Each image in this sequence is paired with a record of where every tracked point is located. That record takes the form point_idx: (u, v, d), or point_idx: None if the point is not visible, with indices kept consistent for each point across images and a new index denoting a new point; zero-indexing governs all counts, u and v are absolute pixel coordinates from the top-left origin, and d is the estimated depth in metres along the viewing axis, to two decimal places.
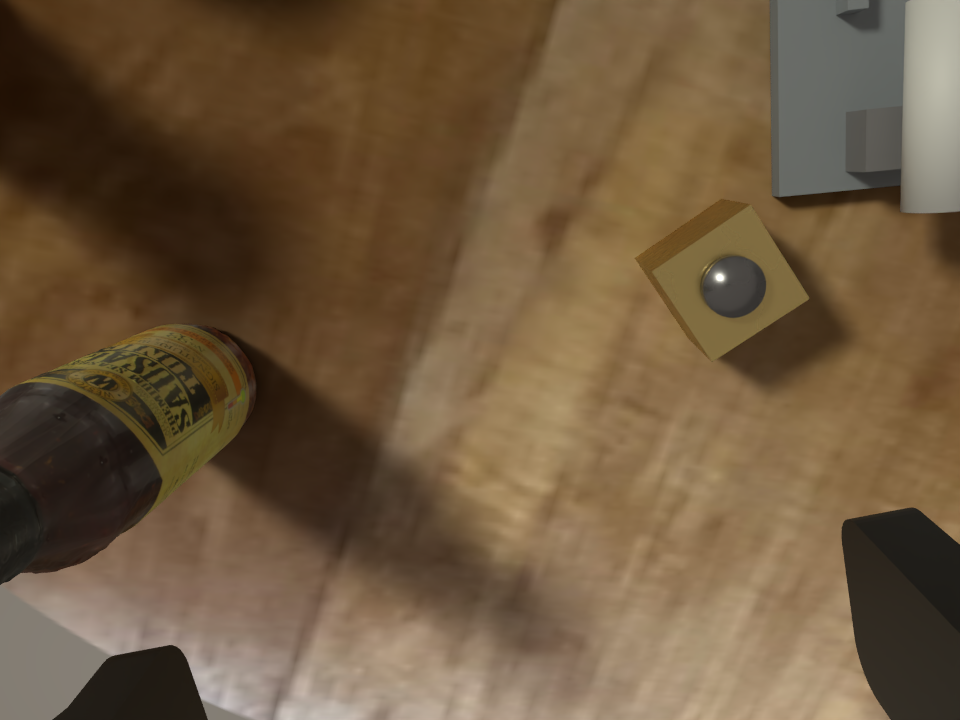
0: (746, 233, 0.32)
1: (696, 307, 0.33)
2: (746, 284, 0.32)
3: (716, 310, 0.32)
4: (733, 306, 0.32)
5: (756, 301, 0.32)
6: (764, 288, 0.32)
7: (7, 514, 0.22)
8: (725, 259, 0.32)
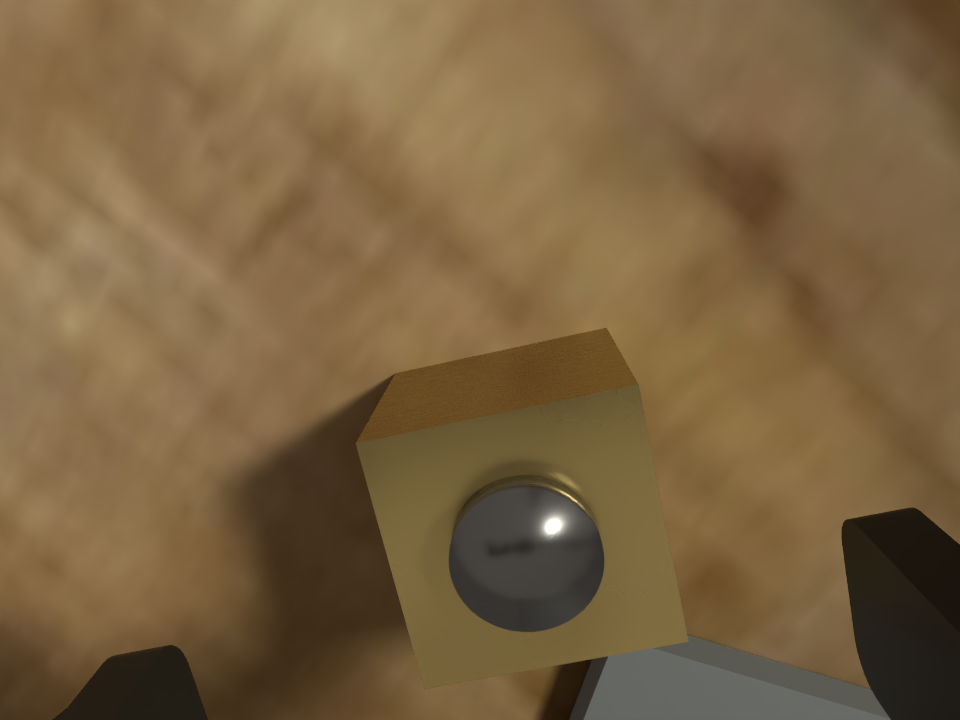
0: (628, 613, 0.13)
1: (504, 454, 0.13)
2: (522, 588, 0.13)
3: (487, 504, 0.12)
4: (481, 544, 0.13)
5: (472, 596, 0.13)
6: (495, 622, 0.13)
7: None
8: (602, 563, 0.13)
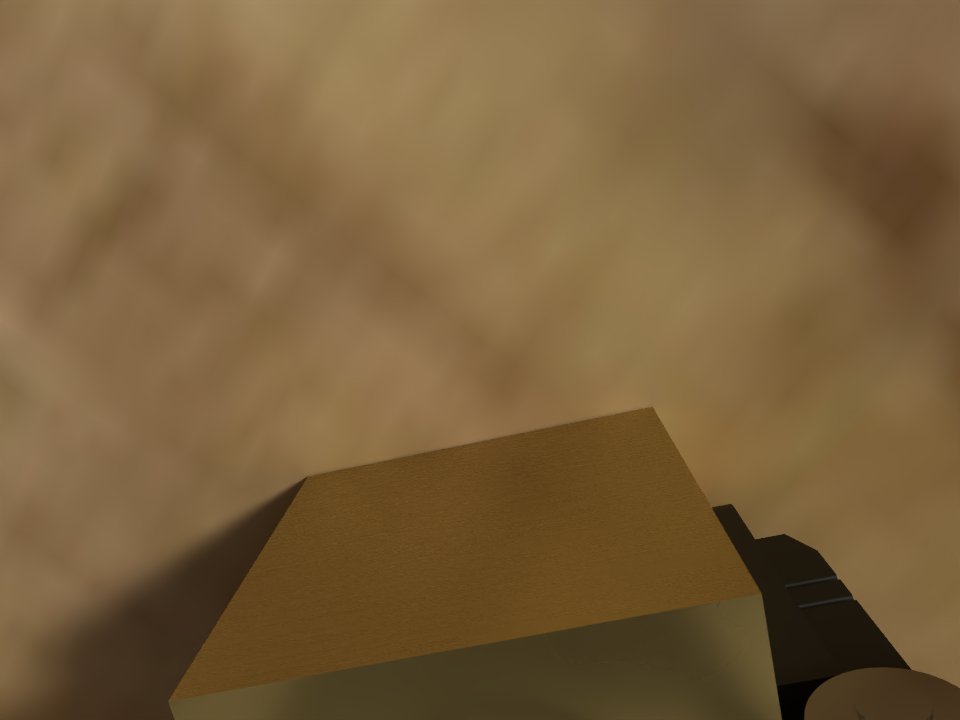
0: None
1: None
2: None
3: None
4: None
5: None
6: None
7: None
8: None
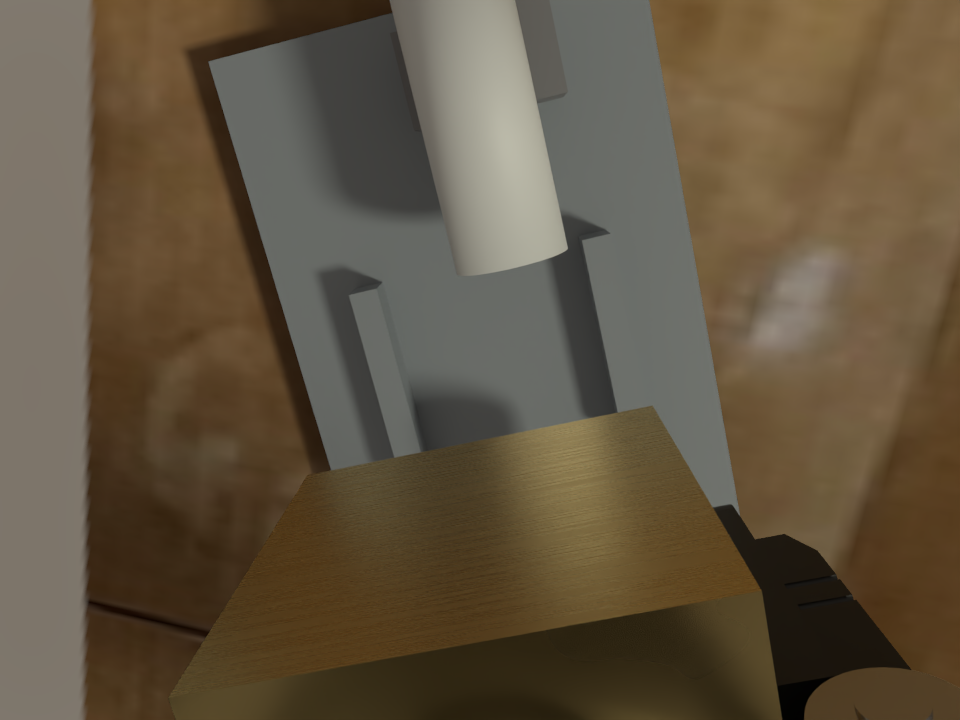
0: None
1: None
2: None
3: None
4: None
5: None
6: None
7: None
8: None
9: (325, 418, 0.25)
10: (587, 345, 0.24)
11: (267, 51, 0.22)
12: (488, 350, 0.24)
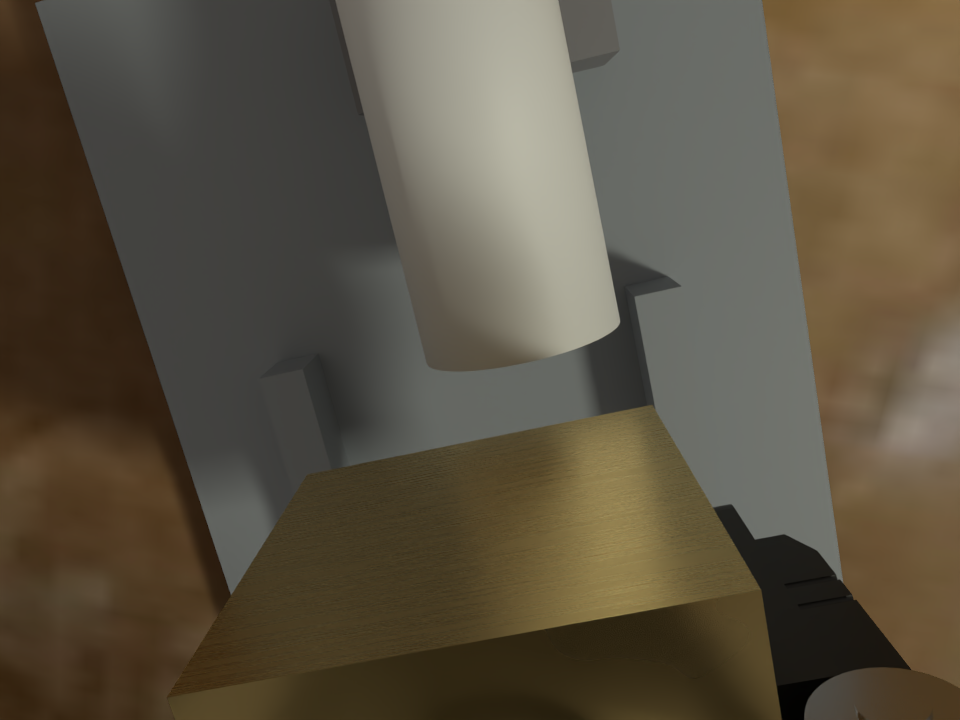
0: None
1: None
2: None
3: None
4: None
5: None
6: None
7: None
8: None
9: (233, 555, 0.16)
10: None
11: None
12: None
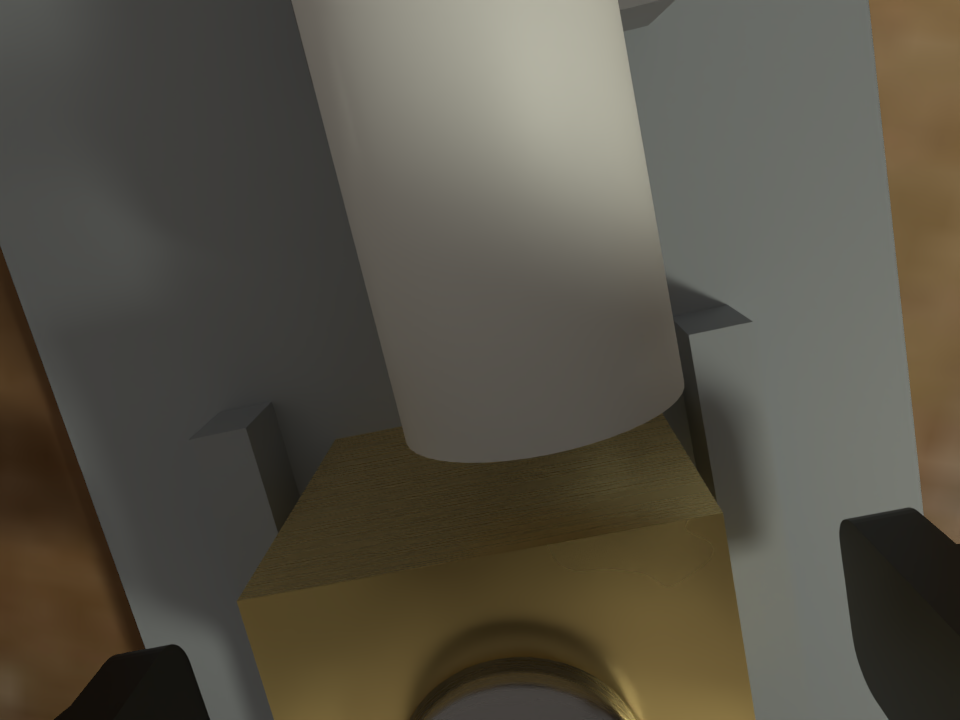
0: None
1: (489, 623, 0.08)
2: None
3: (458, 719, 0.07)
4: None
5: None
6: None
7: None
8: None
9: None
10: None
11: None
12: None
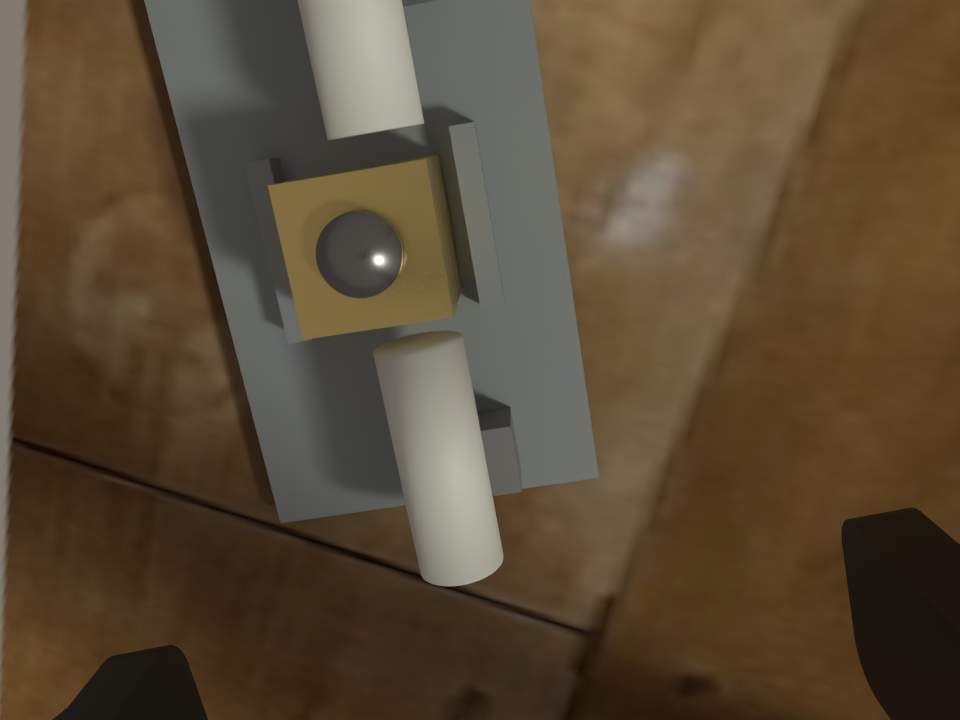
0: (419, 297, 0.24)
1: (351, 196, 0.23)
2: (356, 271, 0.23)
3: (337, 219, 0.22)
4: (333, 243, 0.23)
5: (328, 274, 0.23)
6: (341, 291, 0.23)
7: None
8: (400, 259, 0.23)
9: (225, 278, 0.28)
10: (457, 226, 0.27)
11: None
12: None
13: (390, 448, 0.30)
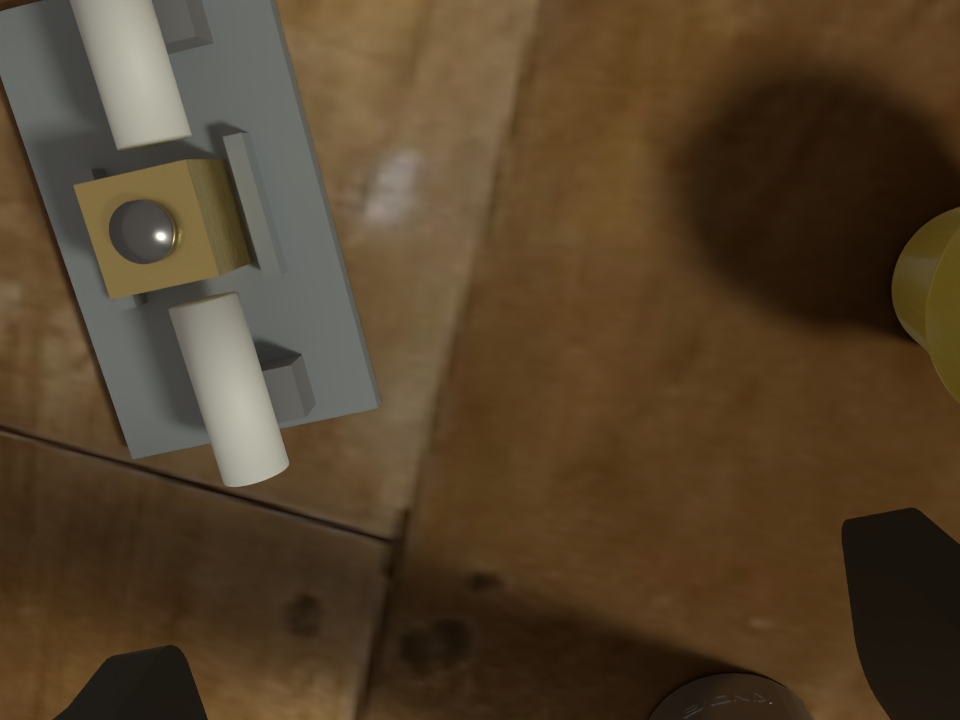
0: (192, 263, 0.32)
1: (134, 190, 0.31)
2: (139, 244, 0.31)
3: (122, 206, 0.31)
4: (121, 224, 0.31)
5: (119, 247, 0.31)
6: (130, 259, 0.31)
7: None
8: (171, 233, 0.31)
9: (72, 264, 0.36)
10: (244, 213, 0.36)
11: (18, 10, 0.34)
12: None
13: None
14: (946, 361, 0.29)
